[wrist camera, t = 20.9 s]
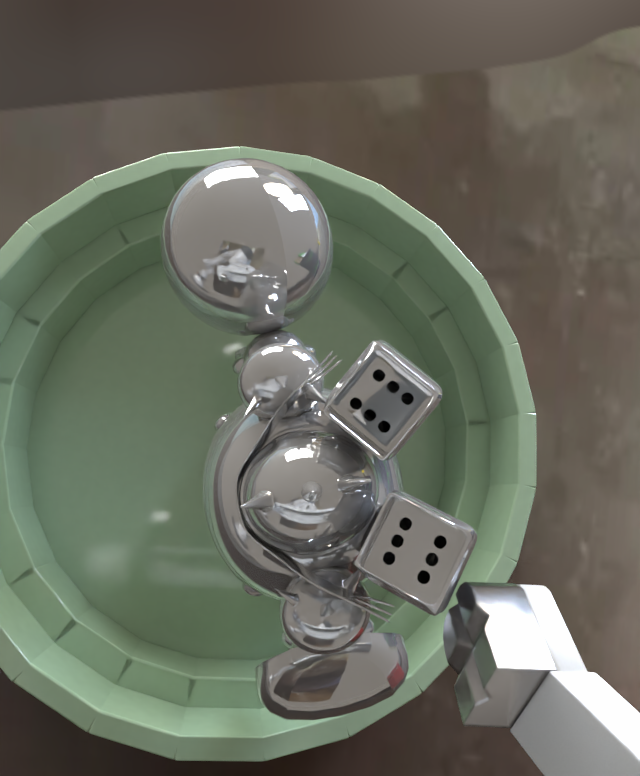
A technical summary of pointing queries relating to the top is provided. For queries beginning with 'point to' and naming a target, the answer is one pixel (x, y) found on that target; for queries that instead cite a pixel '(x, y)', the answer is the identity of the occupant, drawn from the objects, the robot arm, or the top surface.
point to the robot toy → (307, 446)
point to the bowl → (190, 448)
